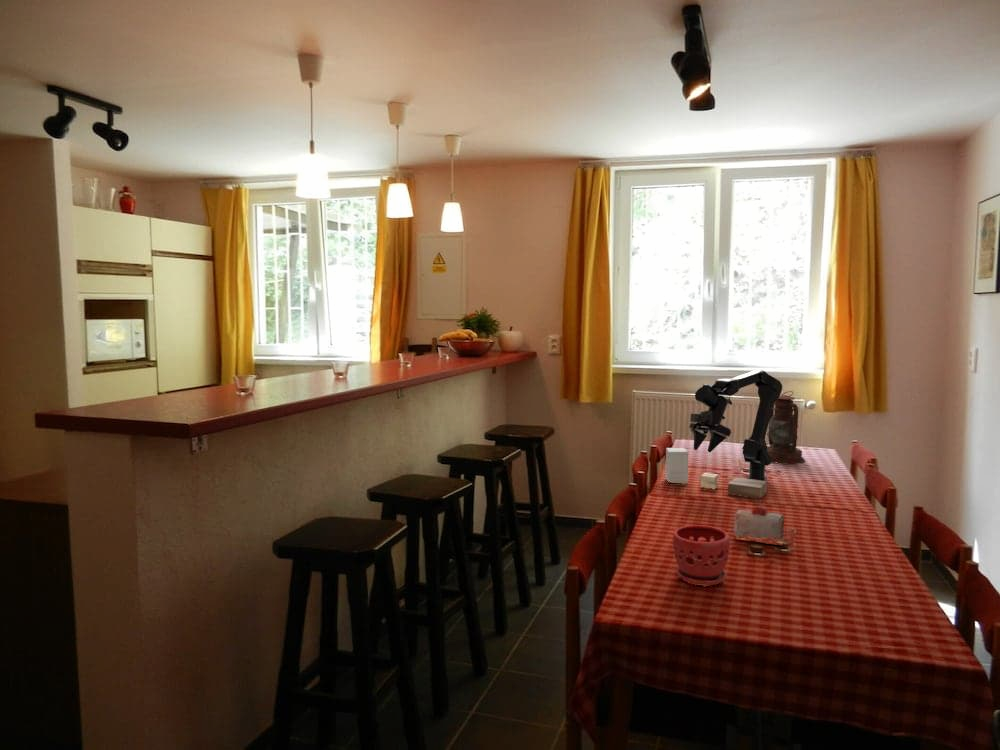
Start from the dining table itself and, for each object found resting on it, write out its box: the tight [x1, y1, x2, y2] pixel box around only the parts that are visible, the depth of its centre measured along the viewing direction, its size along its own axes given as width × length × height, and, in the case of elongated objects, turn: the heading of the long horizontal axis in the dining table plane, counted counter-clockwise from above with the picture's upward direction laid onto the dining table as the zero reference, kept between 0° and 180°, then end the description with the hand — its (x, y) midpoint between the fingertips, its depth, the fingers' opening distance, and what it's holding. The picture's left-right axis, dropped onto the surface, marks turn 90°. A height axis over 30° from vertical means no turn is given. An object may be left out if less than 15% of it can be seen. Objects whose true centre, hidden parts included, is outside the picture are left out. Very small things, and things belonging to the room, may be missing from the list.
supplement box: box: [665, 447, 689, 483], centre depth 262 cm, size 7×7×13 cm
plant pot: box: [672, 524, 730, 585], centre depth 168 cm, size 13×13×12 cm
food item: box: [733, 505, 785, 539], centre depth 196 cm, size 14×8×10 cm, turn 64°
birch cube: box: [700, 472, 719, 489], centre depth 253 cm, size 5×5×5 cm
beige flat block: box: [727, 477, 768, 500], centre depth 246 cm, size 11×11×4 cm
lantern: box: [766, 390, 806, 465], centre depth 301 cm, size 19×19×30 cm
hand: (701, 450), depth 251 cm, fingers open, 9 cm apart
